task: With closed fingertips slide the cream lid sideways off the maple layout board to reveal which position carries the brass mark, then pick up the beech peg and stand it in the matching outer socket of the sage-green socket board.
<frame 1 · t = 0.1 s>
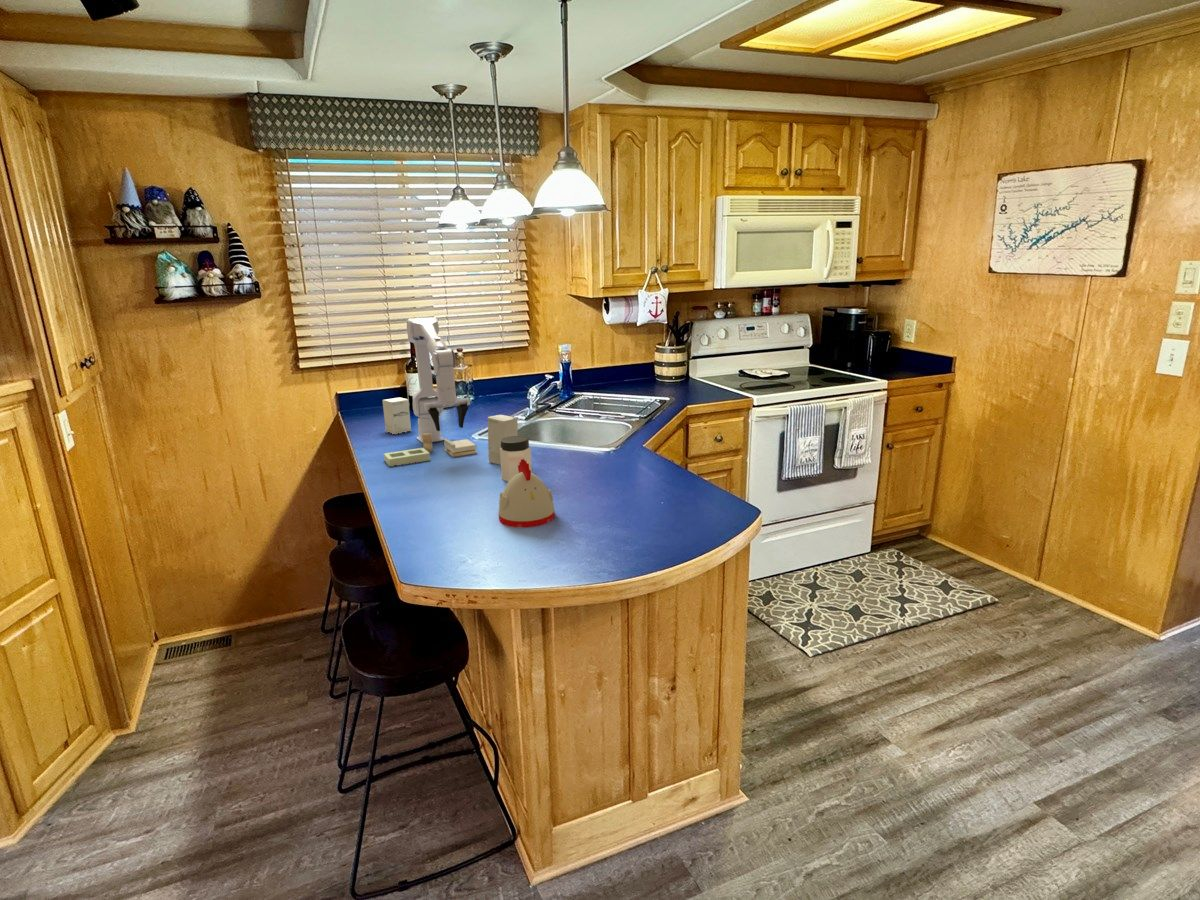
hand: (449, 428, 226), 10 cm above the table, fingers open, 7 cm apart
socket board: (407, 460, 227), on the table
layout board: (460, 452, 235), on the table
kitchen timer: (527, 518, 174), on the table
supplement box: (398, 432, 266), on the table
lid: (460, 444, 234), point 3 cm above the table, slide at 0.0 cm
skincare box: (504, 463, 222), on the table
jar: (517, 479, 205), on the table
peg: (428, 451, 237), on the table
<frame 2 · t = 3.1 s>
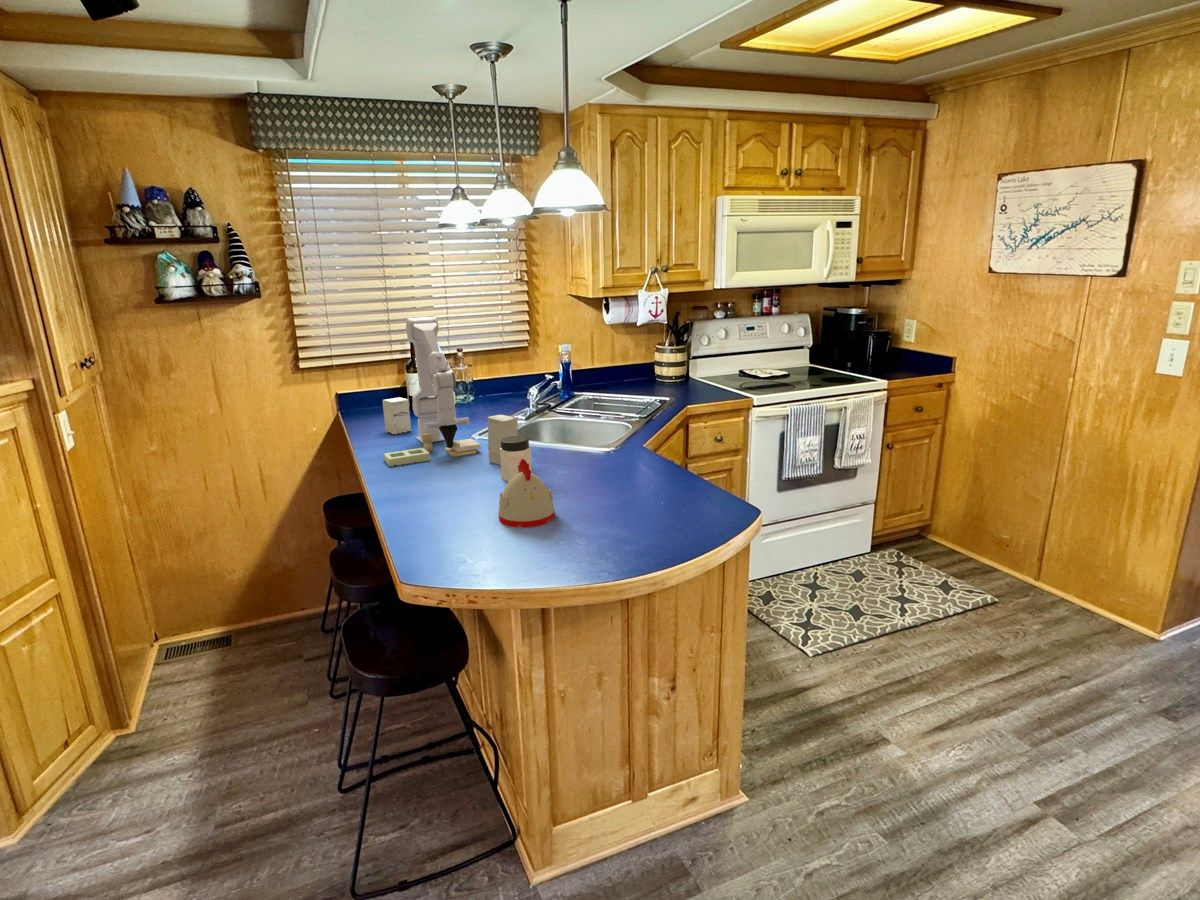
hand: (449, 447, 233), 2 cm above the table, fingers closed
lid: (464, 443, 235), point 3 cm above the table, slide at 1.6 cm, touching gripper
everything else where it was.
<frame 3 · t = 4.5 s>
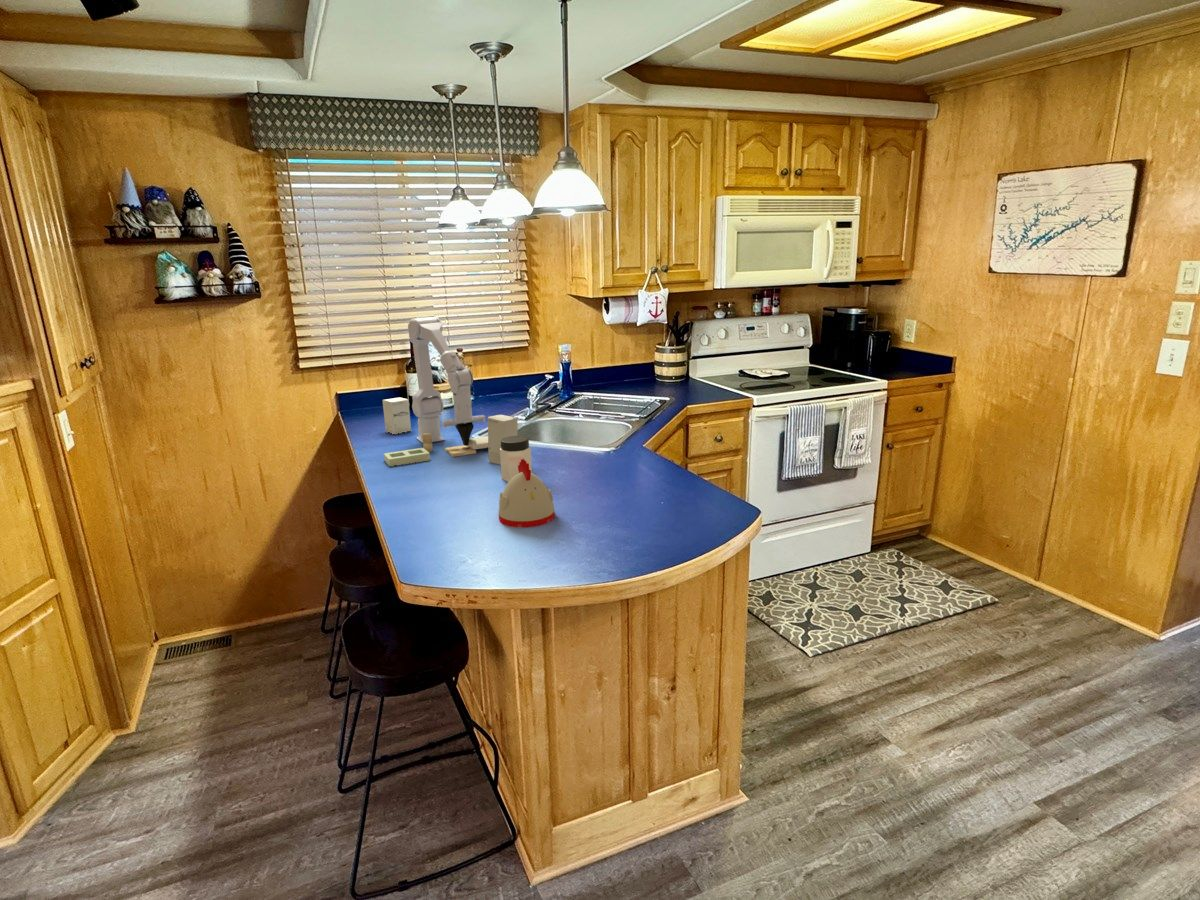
hand: (465, 444, 236), 2 cm above the table, fingers closed
lid: (480, 441, 238), point 3 cm above the table, slide at 7.2 cm, touching gripper
everything else where it was.
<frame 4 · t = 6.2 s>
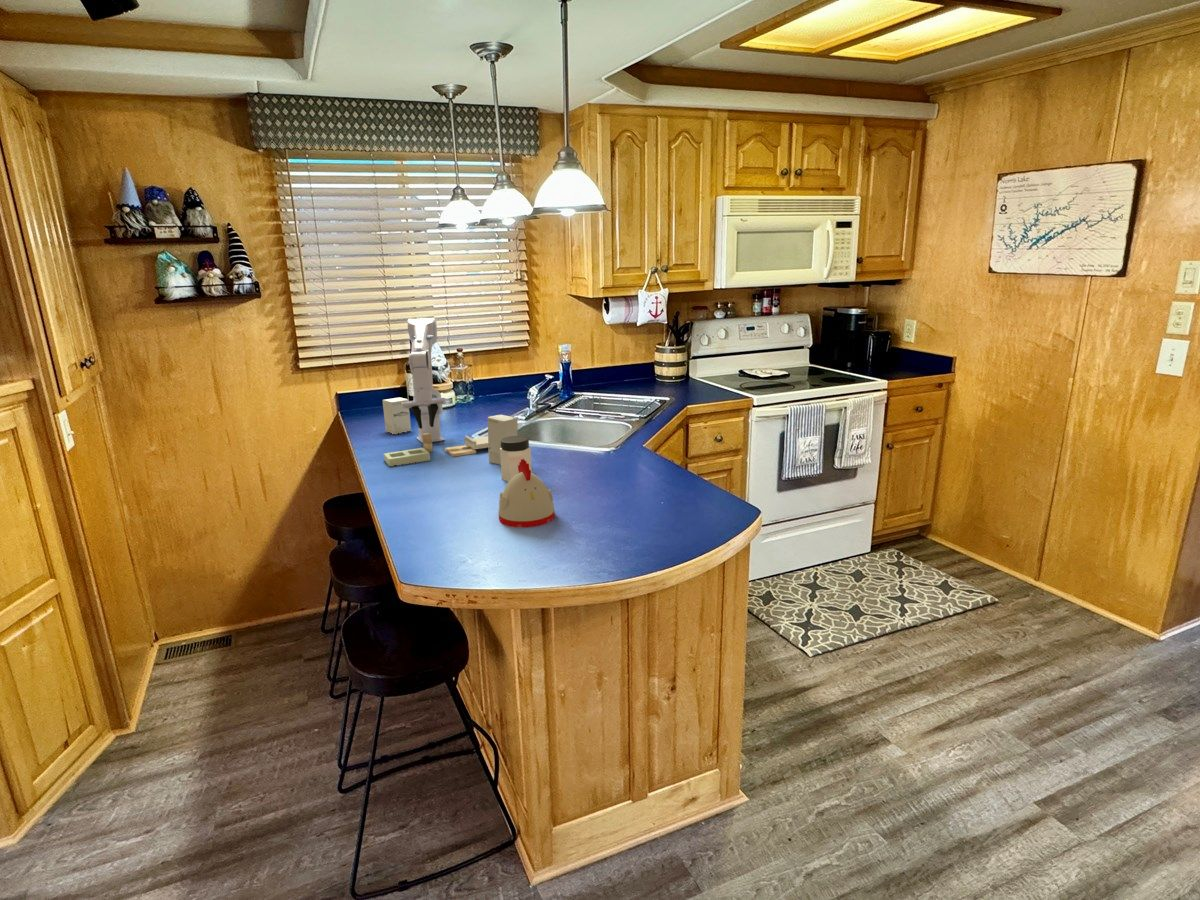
hand: (426, 427, 235), 8 cm above the table, fingers open, 3 cm apart
lid: (480, 441, 238), point 3 cm above the table, slide at 7.2 cm
everything else where it was.
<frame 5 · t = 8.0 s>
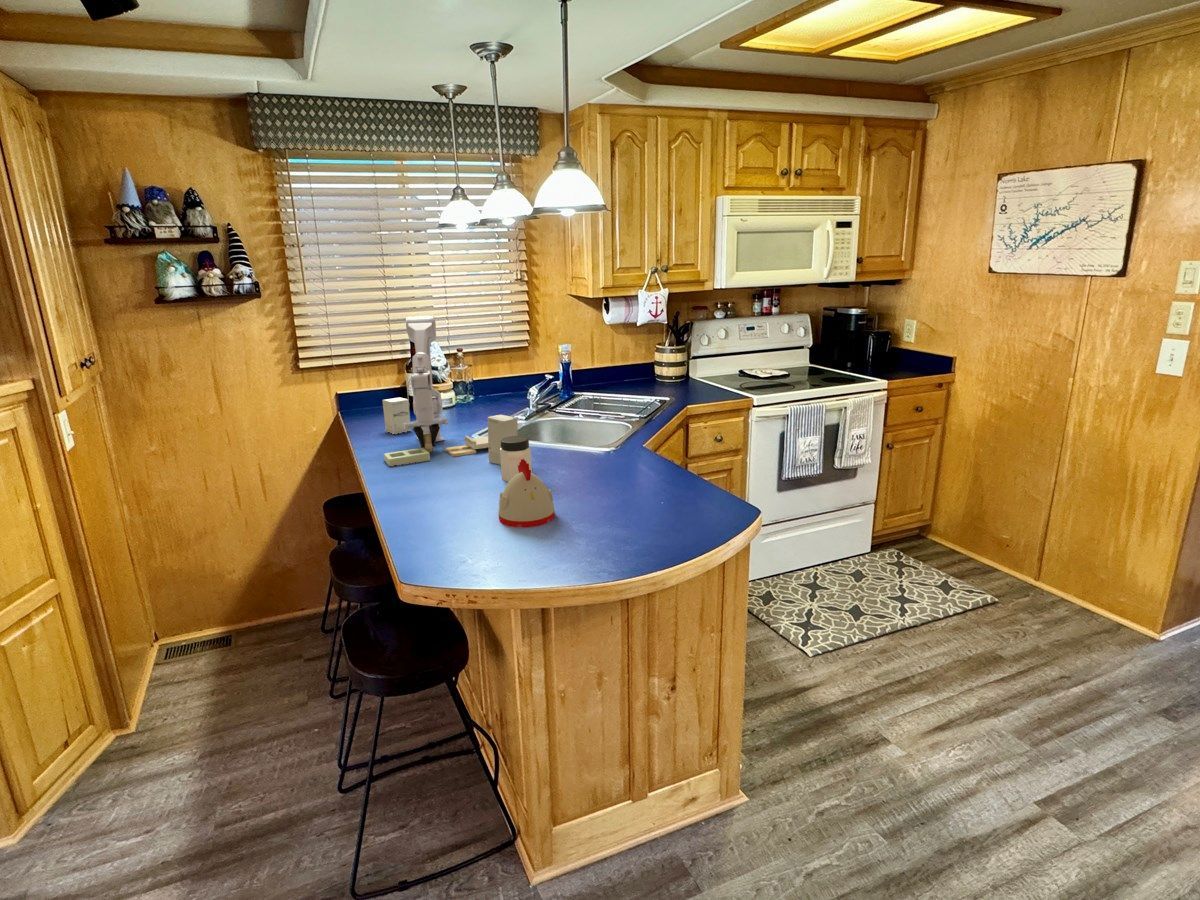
hand: (427, 447, 237), 1 cm above the table, fingers closed on peg, 3 cm apart
peg: (428, 451, 237), on the table, touching gripper
everything else where it was.
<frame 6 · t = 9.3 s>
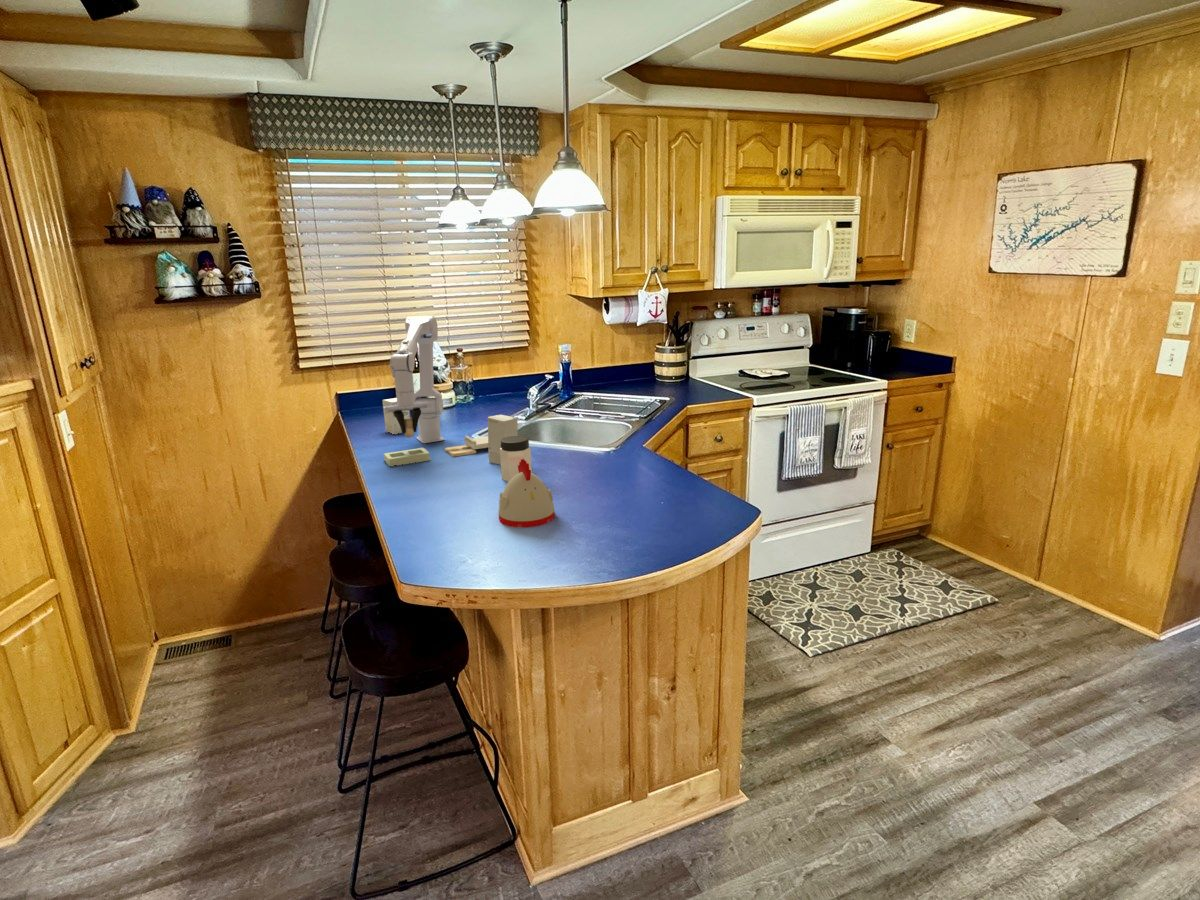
hand: (409, 432, 228), 9 cm above the table, fingers closed on peg, 3 cm apart
peg: (409, 436, 229), point 7 cm above the table, touching gripper
everything else where it was.
when the fingers open (3 cm above the table, at t = 11.0 s): peg drops 1 cm, resting in socket board.
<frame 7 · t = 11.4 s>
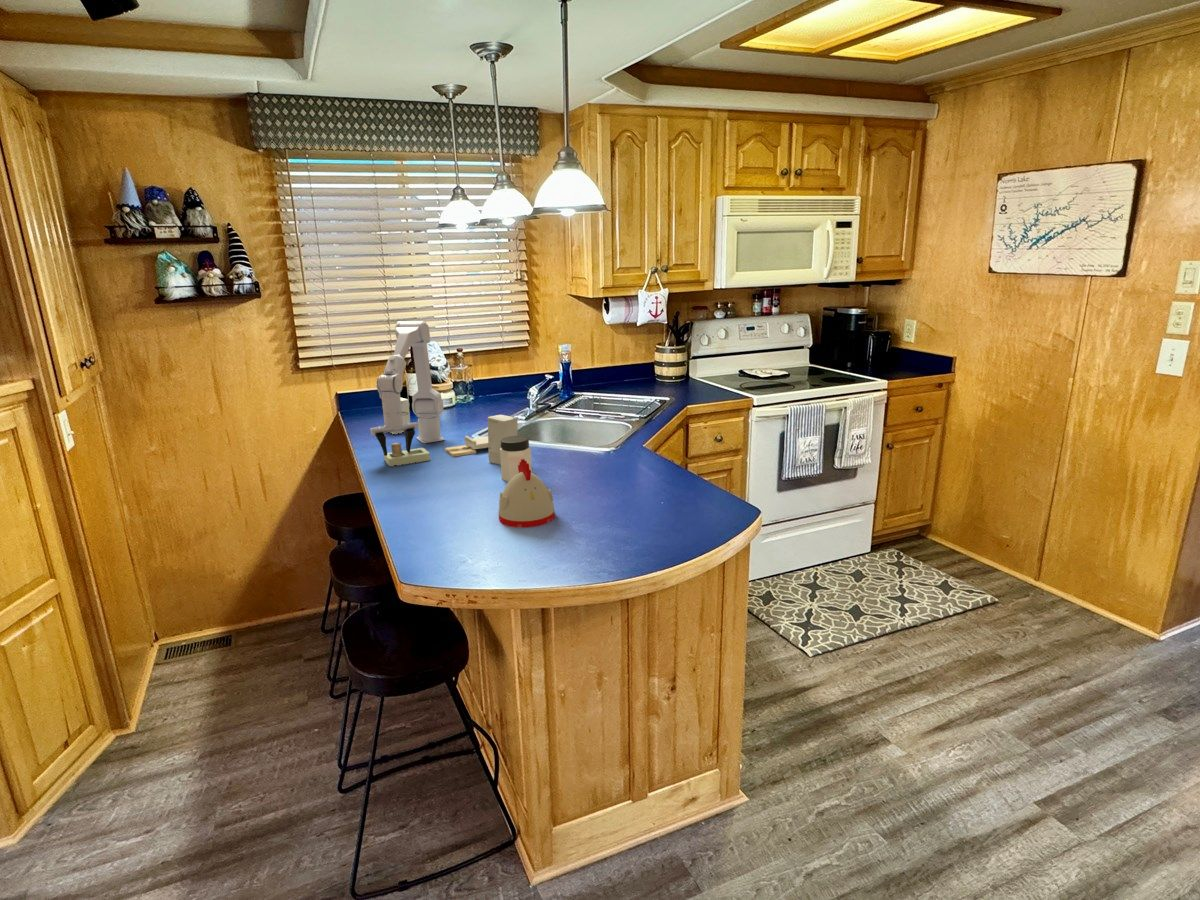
hand: (397, 453, 225), 3 cm above the table, fingers open, 7 cm apart
peg: (398, 461, 226), resting in socket board
everything else where it was.
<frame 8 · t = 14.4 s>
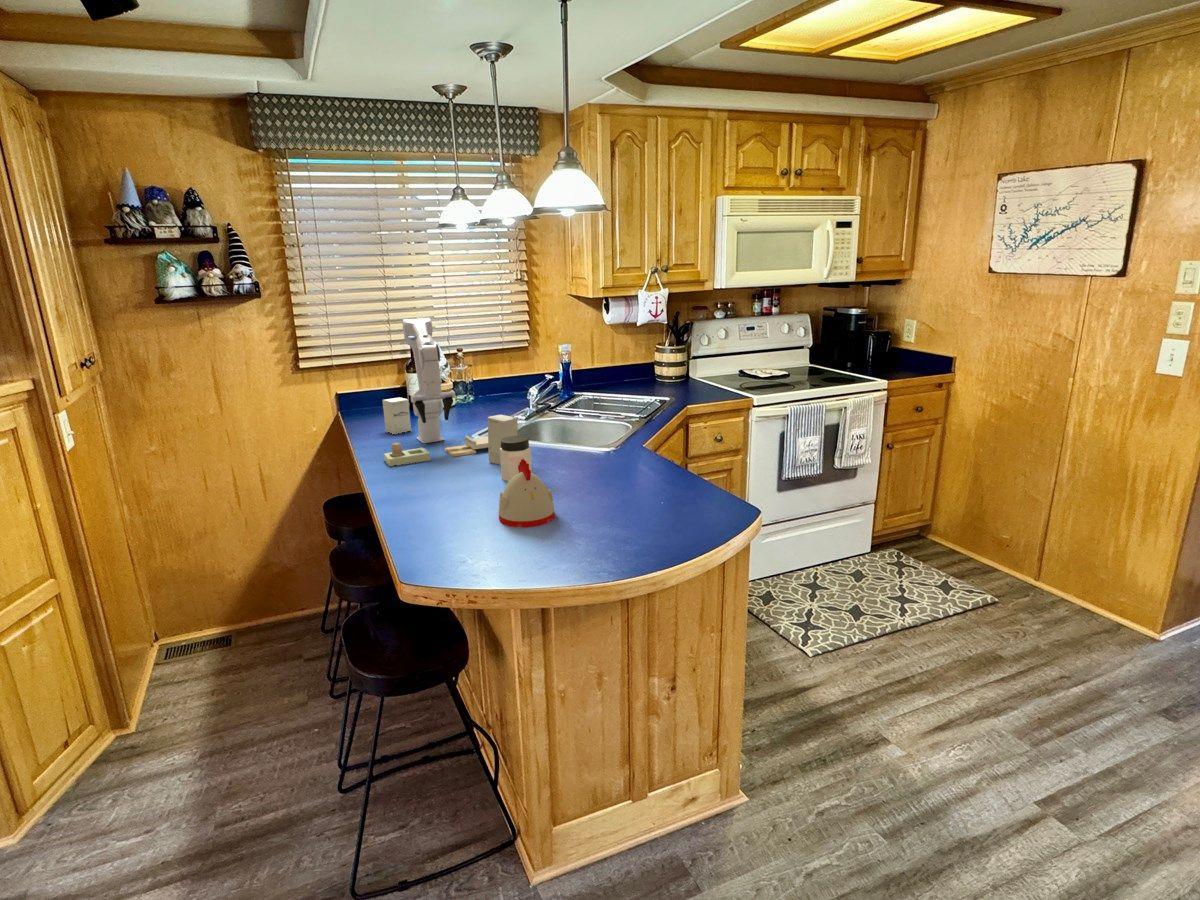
hand: (435, 421, 235), 10 cm above the table, fingers open, 7 cm apart
nothing on the table moved.
at the end: lid slide at 7.2 cm; peg 0.0 cm from the target spot, resting in socket board; peg tilted 1° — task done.
